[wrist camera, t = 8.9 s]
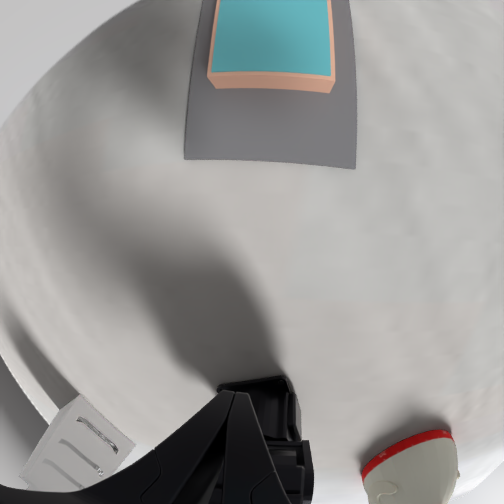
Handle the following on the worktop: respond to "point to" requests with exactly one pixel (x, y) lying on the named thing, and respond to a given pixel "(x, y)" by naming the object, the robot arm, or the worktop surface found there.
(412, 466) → the kitchen timer
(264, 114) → the mat
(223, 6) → the pink and teal block
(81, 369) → the worktop surface
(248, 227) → the worktop surface
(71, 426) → the grater
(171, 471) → the robot arm
